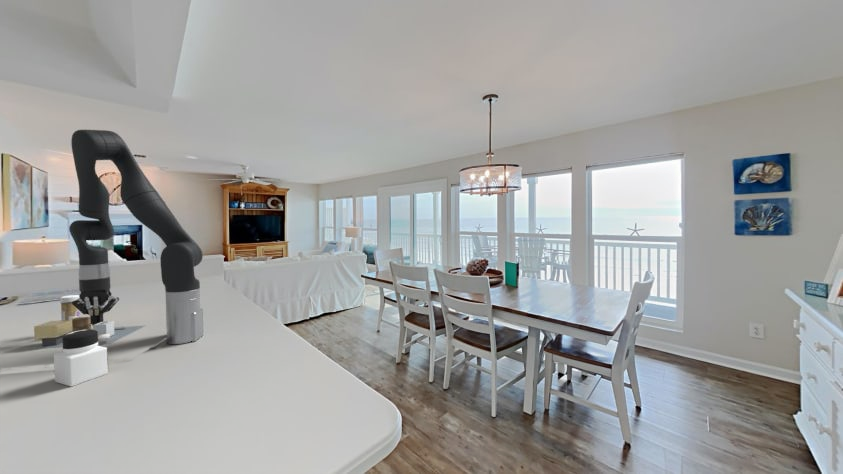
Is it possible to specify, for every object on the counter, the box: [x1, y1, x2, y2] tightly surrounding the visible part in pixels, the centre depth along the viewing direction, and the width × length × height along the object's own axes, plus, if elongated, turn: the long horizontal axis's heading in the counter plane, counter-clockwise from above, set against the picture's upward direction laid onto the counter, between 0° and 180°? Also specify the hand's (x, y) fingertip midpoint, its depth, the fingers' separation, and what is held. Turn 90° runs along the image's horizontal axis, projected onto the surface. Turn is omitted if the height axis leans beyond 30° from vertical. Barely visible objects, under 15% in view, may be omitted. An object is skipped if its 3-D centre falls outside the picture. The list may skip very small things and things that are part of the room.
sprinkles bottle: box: [59, 294, 81, 320], centre depth 110 cm, size 5×5×14 cm
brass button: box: [33, 319, 73, 340], centre depth 97 cm, size 6×6×4 cm
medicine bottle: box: [53, 328, 109, 387], centre depth 78 cm, size 7×7×12 cm
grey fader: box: [92, 320, 115, 336], centre depth 102 cm, size 4×4×5 cm
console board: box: [30, 324, 147, 350], centre depth 103 cm, size 20×18×5 cm
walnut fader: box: [70, 316, 92, 333], centre depth 107 cm, size 4×4×5 cm
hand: (97, 325), depth 108 cm, fingers closed
